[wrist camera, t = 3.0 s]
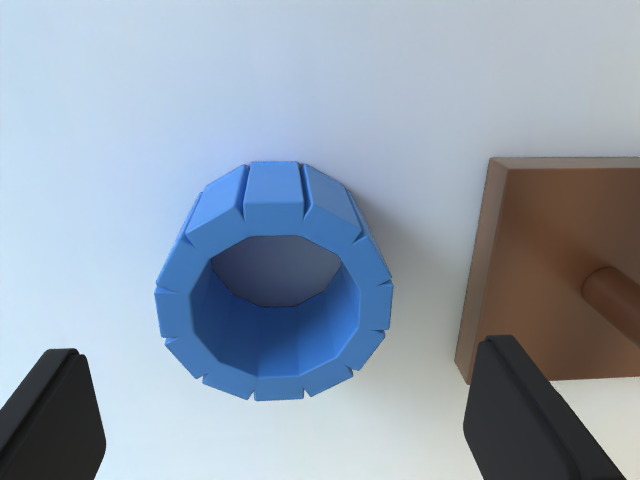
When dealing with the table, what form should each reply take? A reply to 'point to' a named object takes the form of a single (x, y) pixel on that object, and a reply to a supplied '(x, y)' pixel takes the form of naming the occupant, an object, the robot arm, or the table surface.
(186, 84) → the table surface
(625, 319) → the tape peg
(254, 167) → the blue grooved ring
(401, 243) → the table surface
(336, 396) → the table surface
